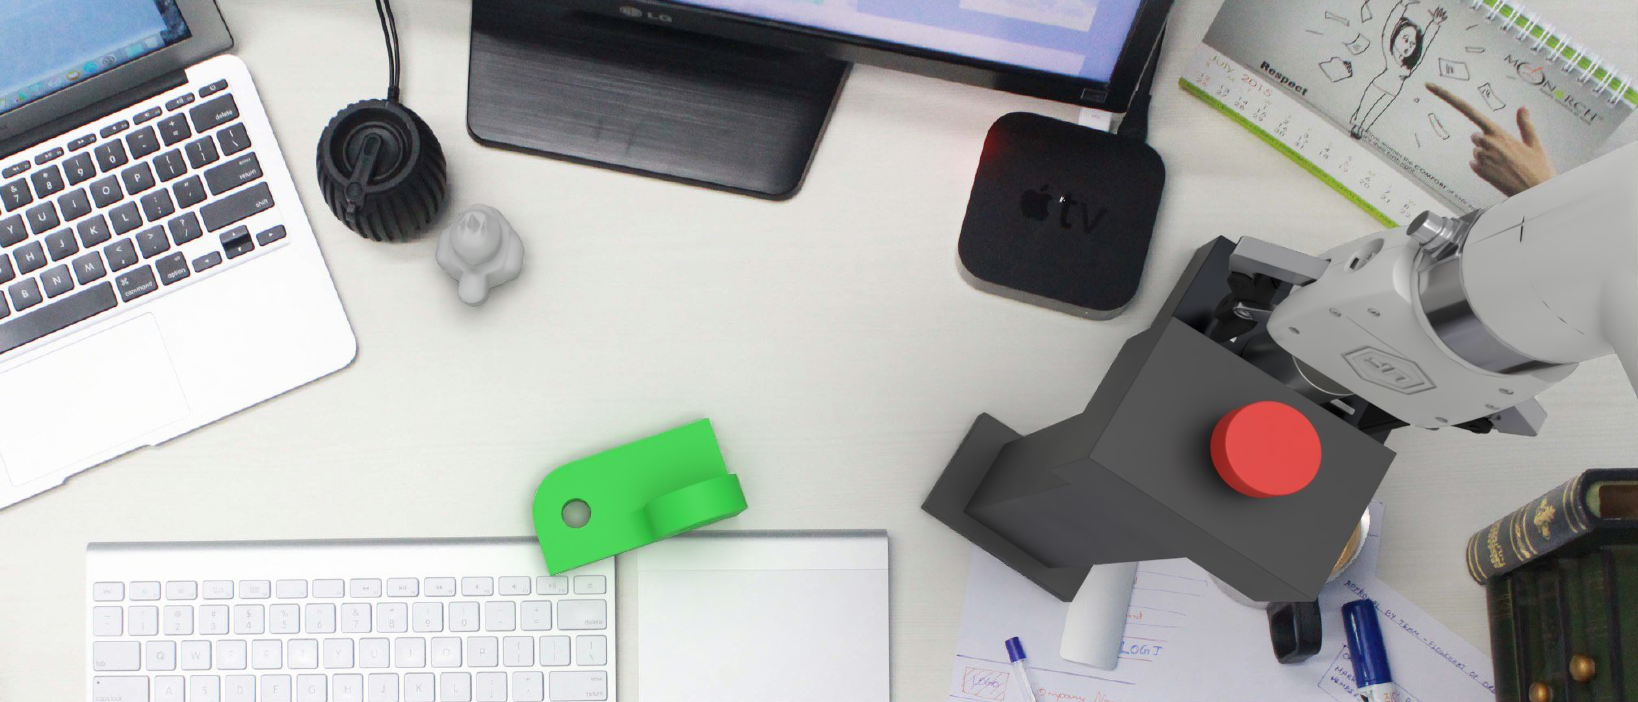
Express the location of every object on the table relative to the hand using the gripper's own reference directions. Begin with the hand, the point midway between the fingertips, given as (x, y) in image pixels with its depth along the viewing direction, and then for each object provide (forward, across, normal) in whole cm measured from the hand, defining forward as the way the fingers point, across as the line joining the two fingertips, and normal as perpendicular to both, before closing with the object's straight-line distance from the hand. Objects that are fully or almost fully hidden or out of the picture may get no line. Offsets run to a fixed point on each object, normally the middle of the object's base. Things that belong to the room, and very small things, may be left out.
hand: (1298, 364), depth 70 cm
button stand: (+5, -8, -15) cm, 18 cm away
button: (-21, -8, -15) cm, 27 cm away
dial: (+2, 0, 0) cm, 2 cm away
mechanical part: (+5, -28, -28) cm, 40 cm away
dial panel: (+5, 0, 0) cm, 5 cm away
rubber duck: (+5, -44, -21) cm, 49 cm away
